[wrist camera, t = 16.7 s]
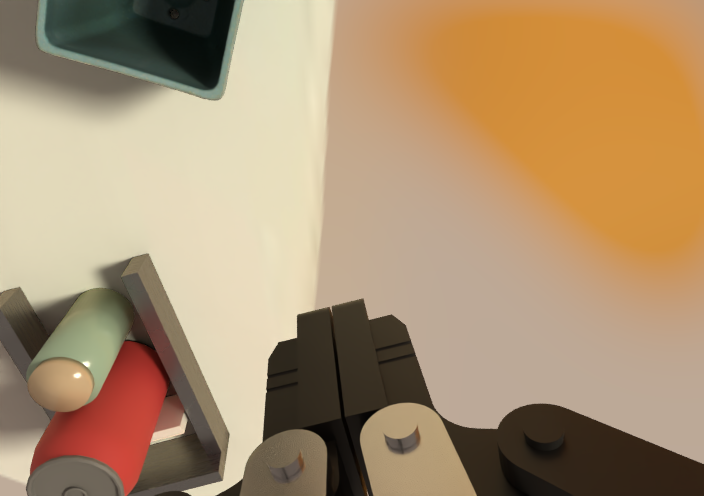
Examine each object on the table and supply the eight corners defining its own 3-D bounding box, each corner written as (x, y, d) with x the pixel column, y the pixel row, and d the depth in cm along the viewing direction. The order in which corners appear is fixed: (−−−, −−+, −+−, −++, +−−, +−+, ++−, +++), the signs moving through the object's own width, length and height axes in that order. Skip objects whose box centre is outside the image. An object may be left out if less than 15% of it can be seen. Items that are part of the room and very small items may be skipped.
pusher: (98, 414, 45) (80, 451, 41) (189, 391, 45) (180, 425, 41) (102, 422, 45) (85, 458, 42) (192, 398, 45) (184, 433, 42)
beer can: (84, 398, 44) (16, 528, 33) (87, 330, 42) (15, 447, 31) (167, 407, 45) (128, 536, 35) (176, 342, 43) (136, 458, 32)
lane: (4, 291, 40) (-34, 328, 35) (148, 253, 40) (129, 286, 35) (108, 465, 47) (88, 514, 43) (229, 434, 47) (222, 480, 43)
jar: (62, 298, 40) (5, 372, 32) (117, 280, 40) (74, 350, 32) (91, 345, 42) (44, 425, 34) (144, 328, 42) (110, 404, 34)
